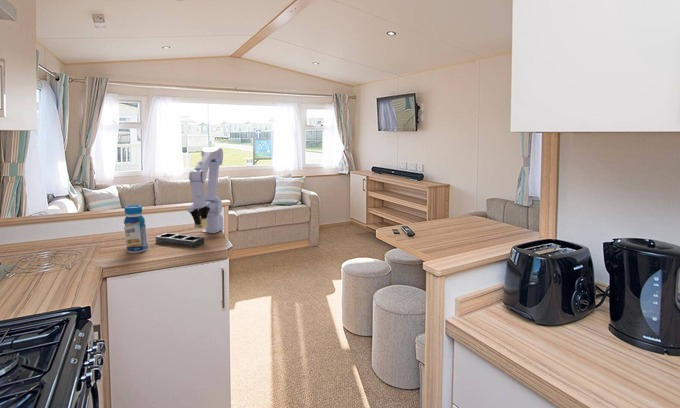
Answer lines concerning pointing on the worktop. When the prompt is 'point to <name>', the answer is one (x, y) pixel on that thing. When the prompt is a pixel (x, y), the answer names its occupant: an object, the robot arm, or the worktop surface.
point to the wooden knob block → (202, 223)
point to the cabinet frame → (180, 240)
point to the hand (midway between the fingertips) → (200, 223)
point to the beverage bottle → (135, 229)
